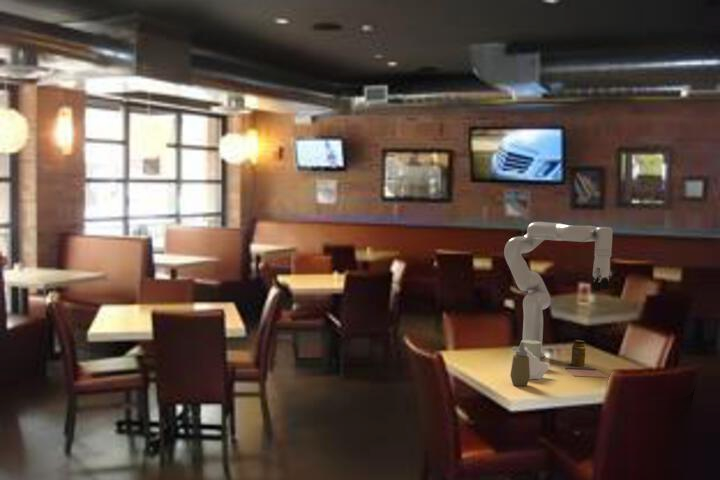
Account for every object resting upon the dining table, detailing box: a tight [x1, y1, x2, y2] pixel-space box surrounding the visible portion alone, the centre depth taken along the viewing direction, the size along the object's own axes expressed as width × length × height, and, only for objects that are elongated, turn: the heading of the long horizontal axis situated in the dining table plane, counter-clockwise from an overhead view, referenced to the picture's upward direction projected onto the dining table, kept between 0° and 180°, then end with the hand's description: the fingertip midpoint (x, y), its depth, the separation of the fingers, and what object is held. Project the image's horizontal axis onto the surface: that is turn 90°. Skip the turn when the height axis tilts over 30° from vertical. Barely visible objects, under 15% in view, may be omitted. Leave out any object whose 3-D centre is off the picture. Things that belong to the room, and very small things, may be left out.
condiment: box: [564, 339, 589, 368], centre depth 367 cm, size 7×8×12 cm
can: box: [520, 339, 541, 361], centre depth 362 cm, size 9×9×12 cm
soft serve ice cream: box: [524, 347, 549, 381], centre depth 339 cm, size 12×15×14 cm
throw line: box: [565, 366, 597, 370], centre depth 359 cm, size 14×2×1 cm, turn 90°
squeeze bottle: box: [509, 341, 530, 387], centre depth 325 cm, size 8×8×18 cm
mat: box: [566, 369, 606, 378], centre depth 351 cm, size 14×12×1 cm
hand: (601, 289), depth 365 cm, fingers open, 9 cm apart
